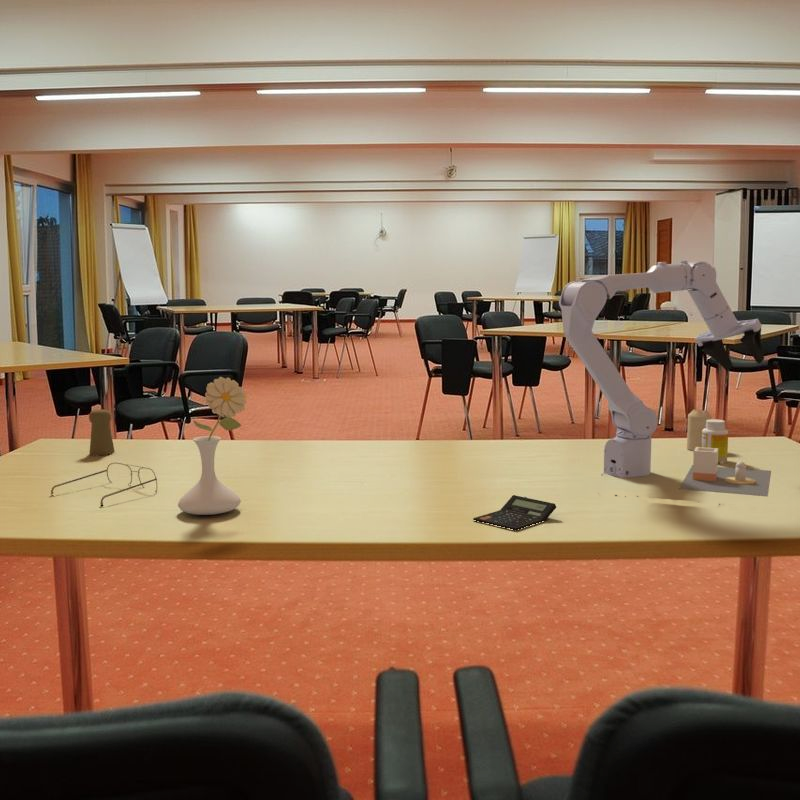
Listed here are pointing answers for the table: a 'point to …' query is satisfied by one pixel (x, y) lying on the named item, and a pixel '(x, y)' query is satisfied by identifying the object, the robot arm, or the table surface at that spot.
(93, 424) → the brown tapered column
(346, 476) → the table surface
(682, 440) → the table surface
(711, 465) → the sleeve
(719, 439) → the supplement bottle
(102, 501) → the eyeglasses
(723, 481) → the pin board
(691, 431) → the beige bottle
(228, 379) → the flower in vase
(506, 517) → the calculator
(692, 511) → the table surface
